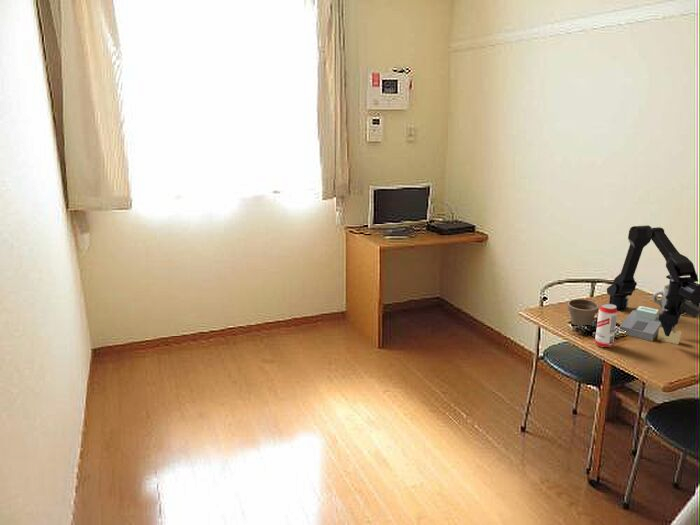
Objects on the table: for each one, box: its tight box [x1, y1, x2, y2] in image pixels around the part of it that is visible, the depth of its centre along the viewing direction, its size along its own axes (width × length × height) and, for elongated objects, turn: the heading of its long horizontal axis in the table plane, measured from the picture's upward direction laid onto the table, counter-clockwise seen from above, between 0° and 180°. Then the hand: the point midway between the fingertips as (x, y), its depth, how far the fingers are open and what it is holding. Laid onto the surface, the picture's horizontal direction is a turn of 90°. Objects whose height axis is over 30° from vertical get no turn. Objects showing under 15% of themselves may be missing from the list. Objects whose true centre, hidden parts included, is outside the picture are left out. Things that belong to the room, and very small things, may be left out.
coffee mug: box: [652, 284, 689, 315], centre depth 229 cm, size 13×10×10 cm
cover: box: [636, 305, 660, 321], centre depth 217 cm, size 7×5×3 cm
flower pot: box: [567, 298, 600, 326], centre depth 216 cm, size 12×11×10 cm
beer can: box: [594, 302, 619, 348], centre depth 199 cm, size 6×6×16 cm
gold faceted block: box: [656, 327, 682, 345], centre depth 203 cm, size 2×7×5 cm, turn 50°
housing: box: [619, 309, 662, 342], centre depth 214 cm, size 12×20×3 cm, turn 140°
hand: (669, 331), depth 202 cm, fingers open, 9 cm apart
